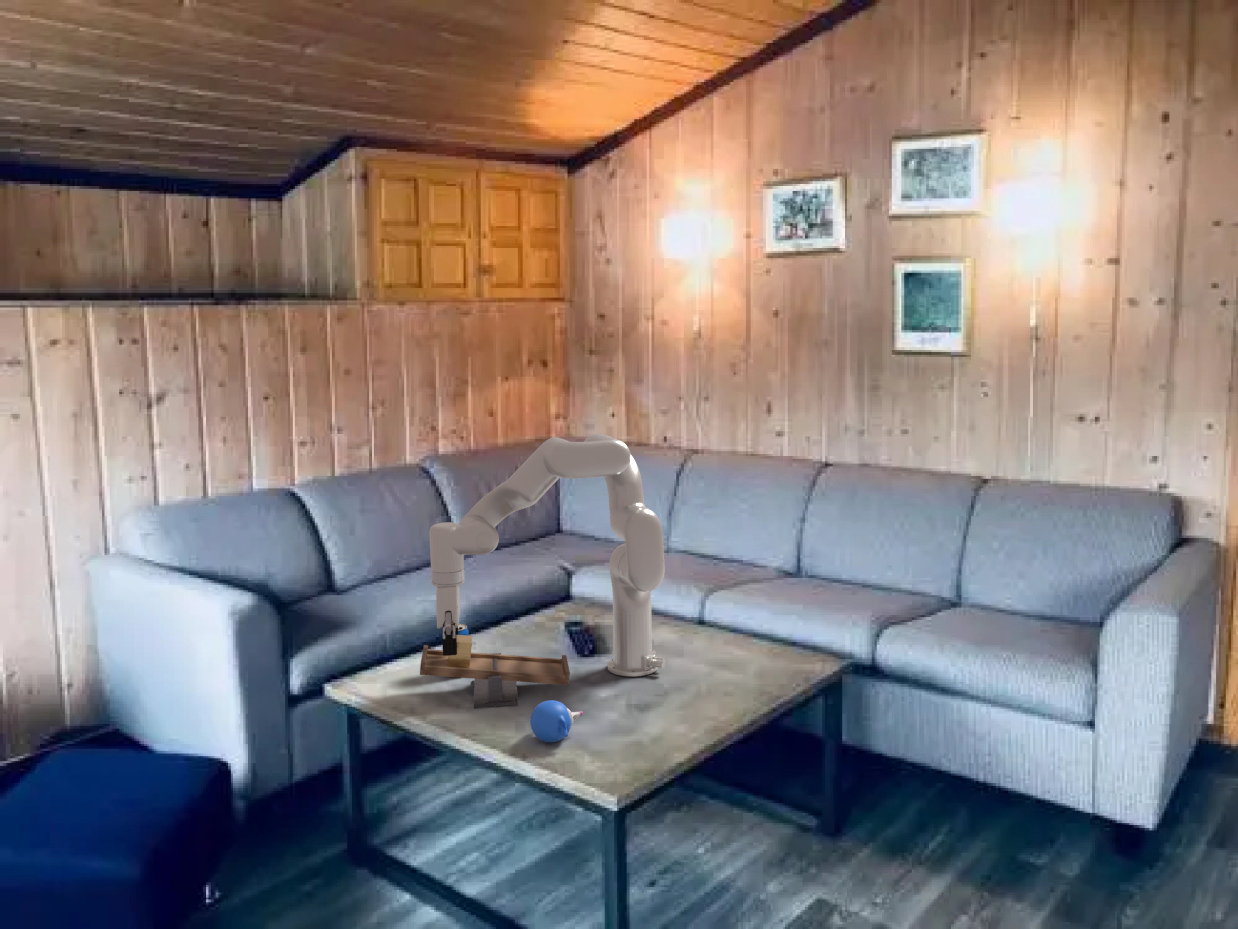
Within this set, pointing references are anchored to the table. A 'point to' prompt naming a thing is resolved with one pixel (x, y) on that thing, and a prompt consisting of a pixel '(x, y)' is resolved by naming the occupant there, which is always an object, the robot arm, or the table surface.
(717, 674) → the table surface
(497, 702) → the beam stand
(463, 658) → the rider
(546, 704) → the blue mole toy
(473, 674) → the beam
